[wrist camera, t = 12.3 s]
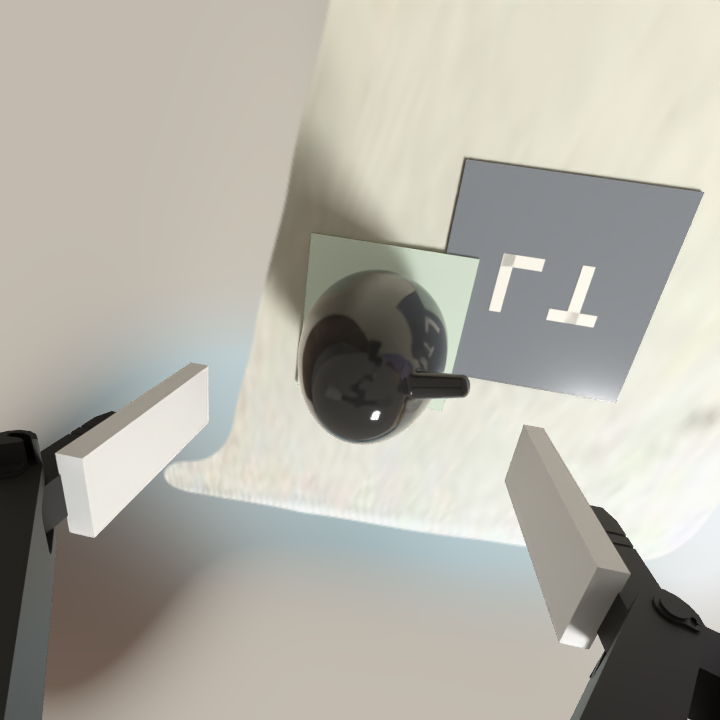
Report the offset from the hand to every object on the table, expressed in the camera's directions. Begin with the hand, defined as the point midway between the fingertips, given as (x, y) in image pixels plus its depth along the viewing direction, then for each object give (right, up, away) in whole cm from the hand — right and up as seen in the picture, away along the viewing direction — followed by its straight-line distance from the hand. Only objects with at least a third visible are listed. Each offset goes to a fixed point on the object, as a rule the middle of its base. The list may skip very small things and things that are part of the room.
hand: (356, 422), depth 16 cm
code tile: (+14, +8, +14) cm, 21 cm away
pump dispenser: (+2, +5, +16) cm, 17 cm away
